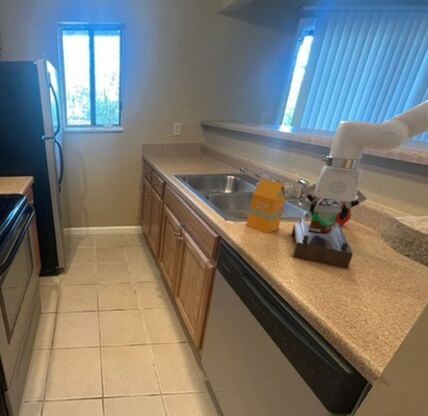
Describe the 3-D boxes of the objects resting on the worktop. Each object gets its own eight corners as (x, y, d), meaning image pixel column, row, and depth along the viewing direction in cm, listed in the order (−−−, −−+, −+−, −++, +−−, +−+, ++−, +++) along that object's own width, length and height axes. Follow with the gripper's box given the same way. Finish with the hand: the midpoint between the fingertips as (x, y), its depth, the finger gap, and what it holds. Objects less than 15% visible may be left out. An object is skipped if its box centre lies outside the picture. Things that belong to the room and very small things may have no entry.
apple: (352, 228, 111) (361, 203, 108) (331, 228, 112) (339, 204, 108) (336, 220, 119) (344, 197, 115) (317, 220, 119) (324, 197, 116)
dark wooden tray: (336, 244, 99) (343, 223, 96) (346, 270, 84) (355, 246, 81) (290, 235, 106) (296, 215, 103) (292, 258, 91) (298, 235, 88)
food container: (330, 239, 86) (340, 210, 83) (307, 233, 90) (315, 205, 87) (337, 227, 94) (347, 200, 90) (316, 222, 98) (324, 196, 94)
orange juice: (257, 222, 118) (267, 177, 111) (278, 230, 111) (289, 182, 104) (246, 226, 115) (255, 180, 108) (266, 234, 108) (277, 185, 100)
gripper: (309, 162, 85) (295, 215, 92) (384, 168, 77) (363, 226, 83) (307, 158, 91) (294, 208, 98) (377, 163, 83) (358, 217, 89)
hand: (326, 216), depth 90 cm, fingers closed on food container, 6 cm apart
